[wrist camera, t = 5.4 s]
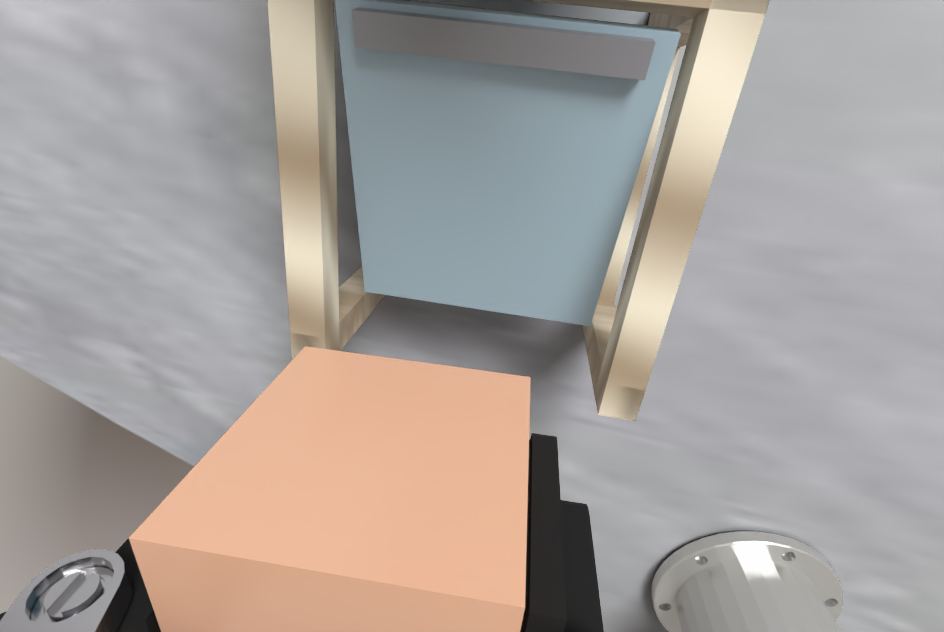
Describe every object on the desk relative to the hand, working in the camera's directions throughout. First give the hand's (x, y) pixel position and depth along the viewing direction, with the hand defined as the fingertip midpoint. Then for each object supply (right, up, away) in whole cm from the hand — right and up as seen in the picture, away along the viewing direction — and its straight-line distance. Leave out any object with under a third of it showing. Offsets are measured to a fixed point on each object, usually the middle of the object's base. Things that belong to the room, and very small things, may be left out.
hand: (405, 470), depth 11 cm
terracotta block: (0, 0, +1) cm, 1 cm away
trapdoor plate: (+2, +9, +8) cm, 12 cm away
